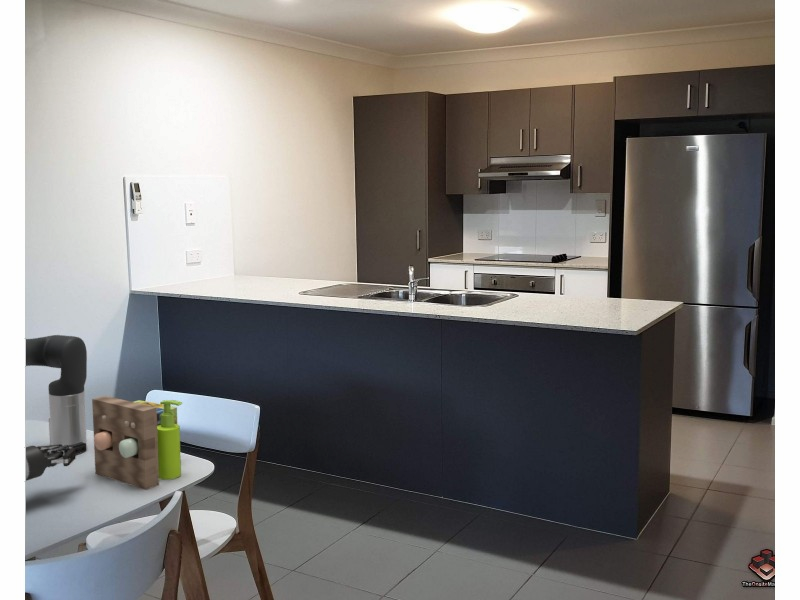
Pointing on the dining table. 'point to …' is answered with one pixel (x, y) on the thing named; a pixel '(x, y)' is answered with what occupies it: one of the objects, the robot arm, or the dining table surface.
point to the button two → (128, 447)
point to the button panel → (125, 424)
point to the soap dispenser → (169, 443)
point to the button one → (103, 440)
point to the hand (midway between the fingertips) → (84, 446)
